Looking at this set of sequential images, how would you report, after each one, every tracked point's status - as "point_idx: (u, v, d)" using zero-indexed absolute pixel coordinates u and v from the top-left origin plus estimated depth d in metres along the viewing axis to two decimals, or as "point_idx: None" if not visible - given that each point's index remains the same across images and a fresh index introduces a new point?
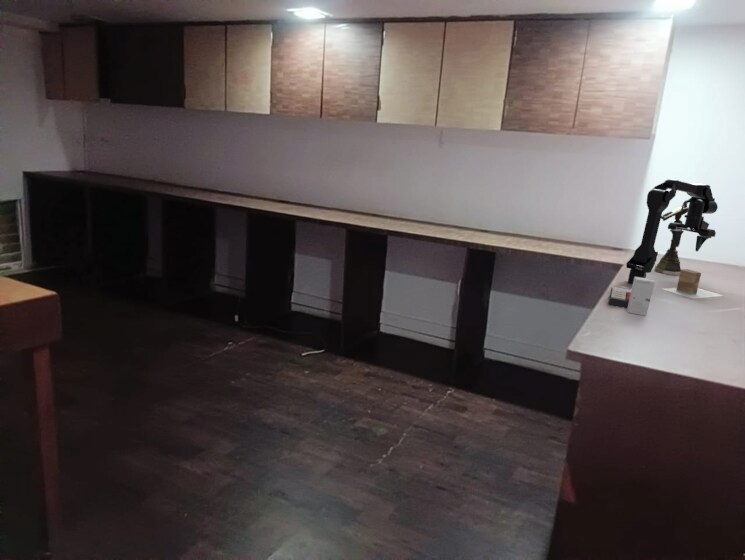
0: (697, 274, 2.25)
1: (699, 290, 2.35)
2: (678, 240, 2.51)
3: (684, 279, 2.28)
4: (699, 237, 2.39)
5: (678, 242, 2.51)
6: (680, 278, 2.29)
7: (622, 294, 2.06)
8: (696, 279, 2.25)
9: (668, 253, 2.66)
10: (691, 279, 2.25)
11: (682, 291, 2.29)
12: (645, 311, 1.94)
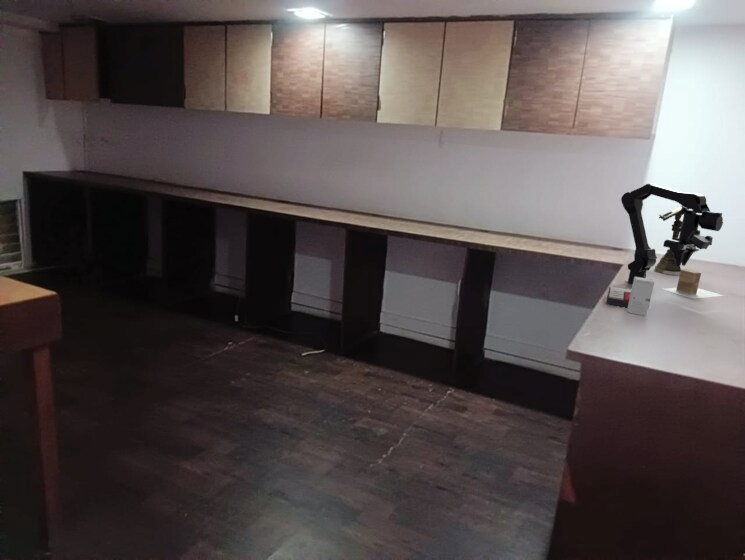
0: (697, 274, 2.25)
1: (699, 290, 2.35)
2: (684, 258, 2.23)
3: (684, 279, 2.28)
4: None
5: (684, 260, 2.23)
6: (680, 278, 2.29)
7: (620, 294, 2.07)
8: (696, 279, 2.25)
9: (668, 253, 2.66)
10: (691, 279, 2.25)
11: (682, 291, 2.29)
12: (645, 311, 1.94)
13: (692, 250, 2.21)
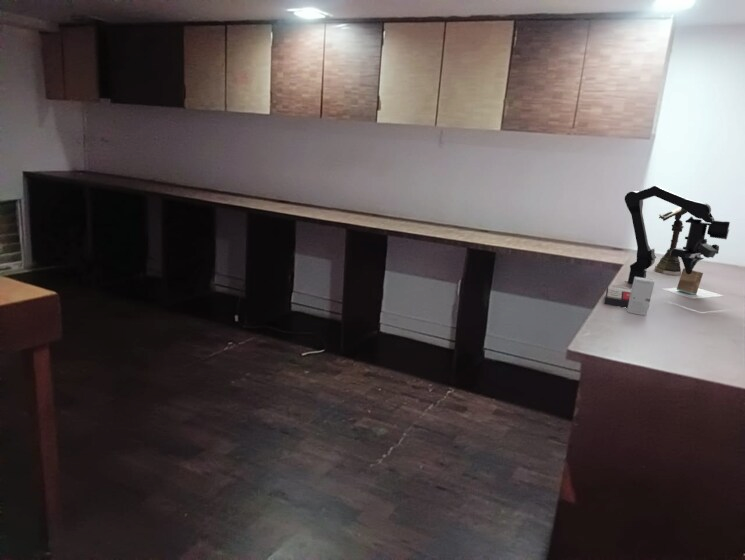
0: (699, 273, 2.25)
1: (699, 290, 2.35)
2: None
3: (685, 278, 2.28)
4: None
5: None
6: (681, 277, 2.29)
7: (618, 293, 2.07)
8: (698, 278, 2.25)
9: (668, 253, 2.66)
10: (693, 278, 2.25)
11: (682, 290, 2.28)
12: (645, 311, 1.94)
13: None
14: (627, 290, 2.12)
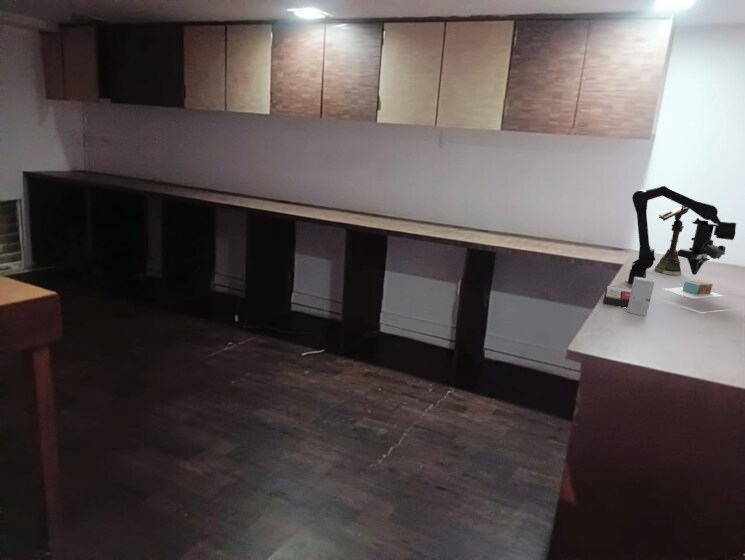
0: (710, 288, 2.31)
1: None
2: None
3: (698, 282, 2.32)
4: None
5: None
6: (694, 280, 2.34)
7: (617, 293, 2.07)
8: (707, 288, 2.30)
9: (668, 253, 2.66)
10: (707, 283, 2.30)
11: (691, 282, 2.30)
12: (645, 311, 1.94)
13: None
14: (626, 290, 2.12)
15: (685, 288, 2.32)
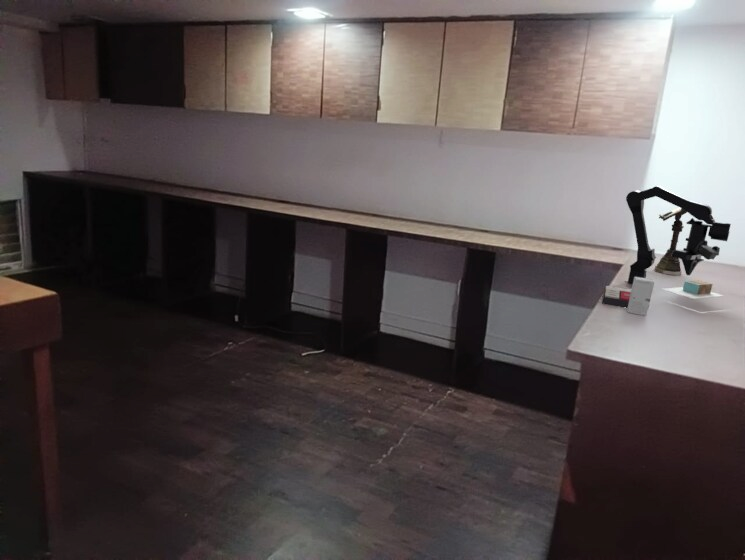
0: (710, 288, 2.31)
1: None
2: None
3: (698, 282, 2.32)
4: None
5: None
6: (694, 280, 2.34)
7: (616, 293, 2.07)
8: (707, 288, 2.30)
9: (668, 253, 2.66)
10: (707, 283, 2.30)
11: (691, 282, 2.30)
12: (645, 311, 1.94)
13: None
14: (625, 289, 2.13)
15: (685, 288, 2.32)
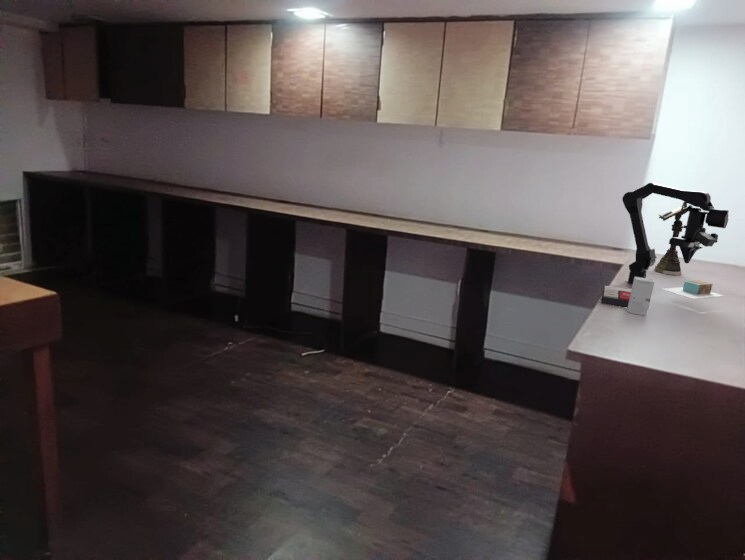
0: (710, 288, 2.31)
1: None
2: None
3: (698, 282, 2.32)
4: None
5: None
6: (694, 280, 2.34)
7: (614, 292, 2.08)
8: (707, 288, 2.30)
9: (668, 253, 2.66)
10: (707, 283, 2.30)
11: (691, 282, 2.30)
12: (645, 311, 1.94)
13: (695, 248, 2.21)
14: (623, 289, 2.13)
15: (685, 288, 2.32)
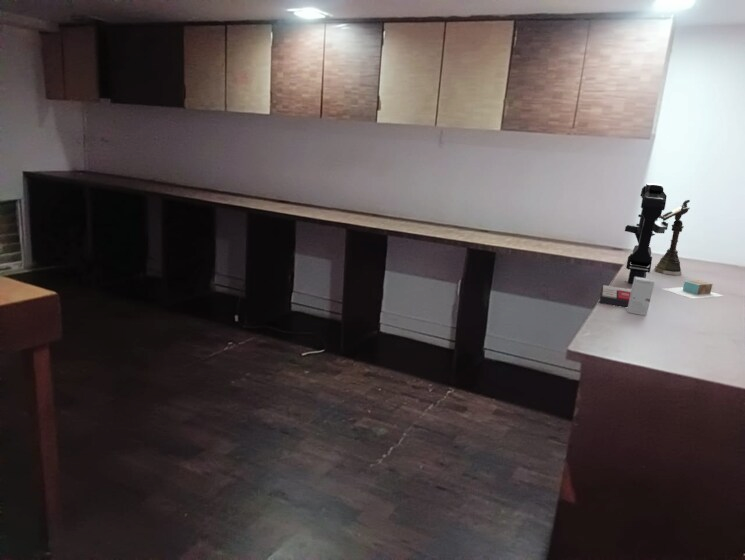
0: (710, 288, 2.31)
1: None
2: None
3: (698, 282, 2.32)
4: None
5: None
6: (694, 280, 2.34)
7: (613, 292, 2.08)
8: (707, 288, 2.30)
9: (668, 253, 2.66)
10: (707, 283, 2.30)
11: (691, 282, 2.30)
12: (645, 311, 1.94)
13: None
14: (622, 289, 2.13)
15: (685, 288, 2.32)
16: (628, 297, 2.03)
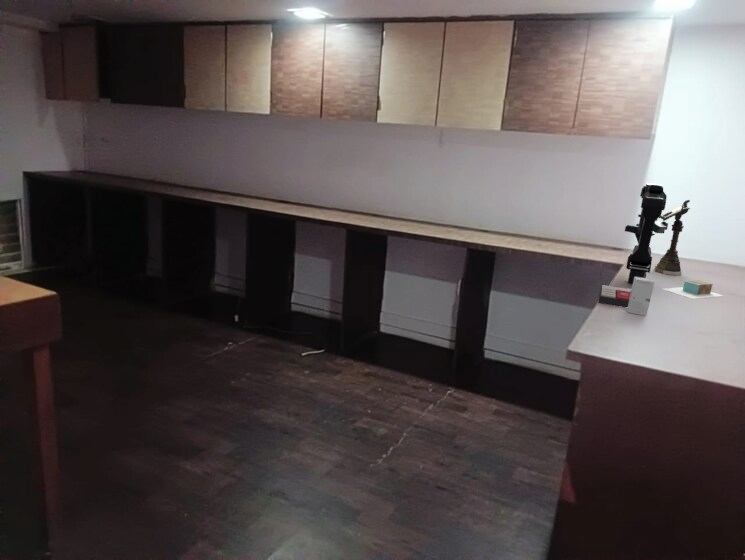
0: (710, 288, 2.31)
1: None
2: None
3: (698, 282, 2.32)
4: None
5: None
6: (694, 280, 2.34)
7: (612, 292, 2.08)
8: (707, 288, 2.30)
9: (668, 253, 2.66)
10: (707, 283, 2.30)
11: (691, 282, 2.30)
12: (645, 311, 1.94)
13: None
14: (620, 289, 2.13)
15: (685, 288, 2.32)
16: (627, 297, 2.04)
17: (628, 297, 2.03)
